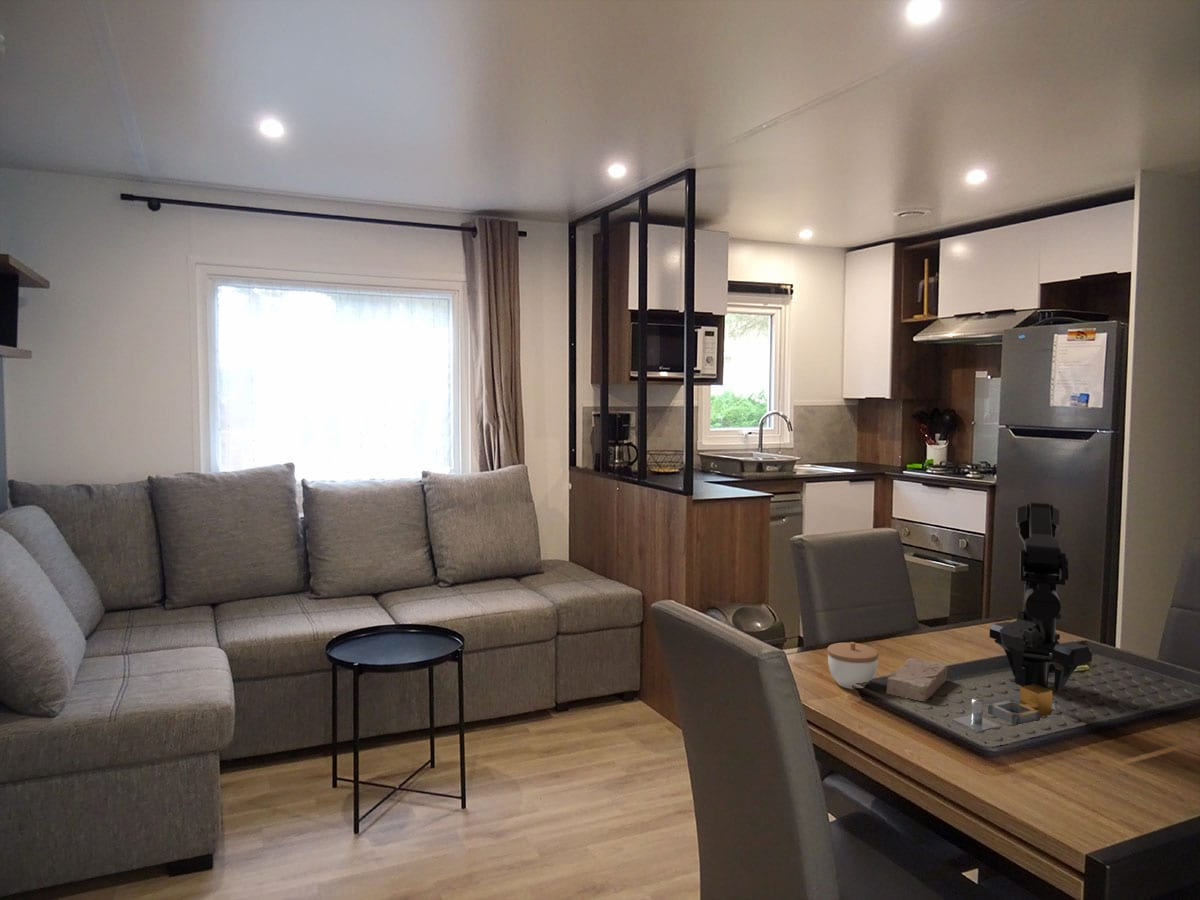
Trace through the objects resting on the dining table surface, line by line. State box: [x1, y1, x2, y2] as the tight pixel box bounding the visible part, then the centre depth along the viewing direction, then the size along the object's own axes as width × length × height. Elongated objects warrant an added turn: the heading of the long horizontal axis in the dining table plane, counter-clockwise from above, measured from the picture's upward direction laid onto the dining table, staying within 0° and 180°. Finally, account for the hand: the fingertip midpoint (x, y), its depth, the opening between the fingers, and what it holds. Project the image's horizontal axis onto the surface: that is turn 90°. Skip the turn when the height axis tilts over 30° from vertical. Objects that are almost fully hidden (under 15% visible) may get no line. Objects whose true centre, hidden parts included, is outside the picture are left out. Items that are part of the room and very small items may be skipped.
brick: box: [885, 657, 948, 702], centre depth 173 cm, size 16×8×5 cm, turn 142°
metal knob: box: [952, 697, 1001, 732], centre depth 153 cm, size 6×6×5 cm
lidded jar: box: [827, 641, 879, 690], centre depth 176 cm, size 11×11×9 cm
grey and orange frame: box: [988, 684, 1056, 725], centre depth 158 cm, size 14×6×5 cm, turn 113°
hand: (1036, 684), depth 159 cm, fingers open, 9 cm apart
